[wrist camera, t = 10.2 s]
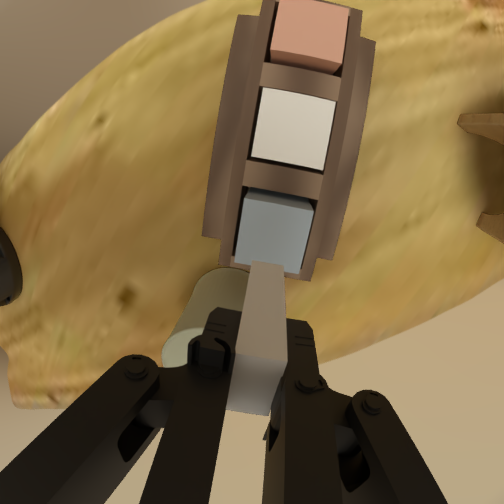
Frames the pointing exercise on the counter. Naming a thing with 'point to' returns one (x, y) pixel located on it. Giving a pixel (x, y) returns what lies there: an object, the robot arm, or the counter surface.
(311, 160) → the key white
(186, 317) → the can
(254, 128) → the brown block holder tray
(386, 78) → the counter surface
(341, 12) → the key terracotta
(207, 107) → the counter surface
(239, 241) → the grey square block
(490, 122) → the planter
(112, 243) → the counter surface
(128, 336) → the counter surface
